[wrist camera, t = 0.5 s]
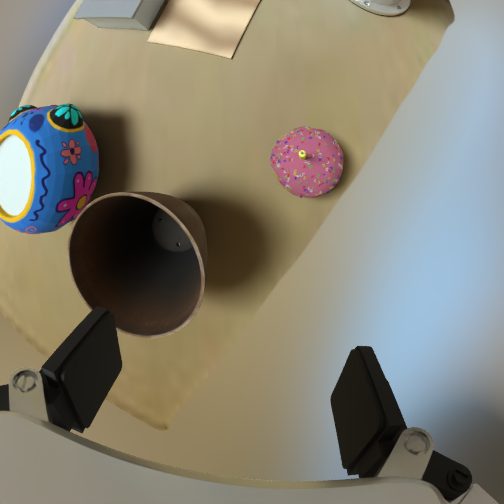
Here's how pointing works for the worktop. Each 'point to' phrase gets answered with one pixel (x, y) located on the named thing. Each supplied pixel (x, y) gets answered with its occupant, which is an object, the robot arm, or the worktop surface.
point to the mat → (204, 25)
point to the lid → (108, 9)
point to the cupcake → (307, 162)
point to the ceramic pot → (46, 167)
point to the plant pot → (140, 261)
